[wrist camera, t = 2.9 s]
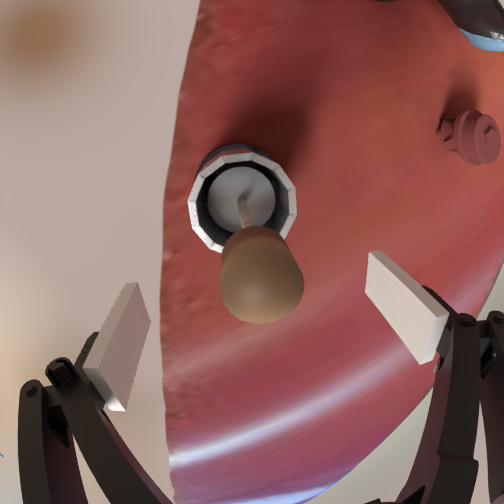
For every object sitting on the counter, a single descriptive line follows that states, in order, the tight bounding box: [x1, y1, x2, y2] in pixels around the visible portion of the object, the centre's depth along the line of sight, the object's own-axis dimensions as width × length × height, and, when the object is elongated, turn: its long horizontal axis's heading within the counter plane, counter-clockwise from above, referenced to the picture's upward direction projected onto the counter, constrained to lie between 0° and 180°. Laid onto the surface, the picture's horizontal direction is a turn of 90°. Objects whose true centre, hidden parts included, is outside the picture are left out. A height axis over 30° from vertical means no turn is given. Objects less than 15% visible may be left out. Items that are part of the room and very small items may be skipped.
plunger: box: [208, 167, 304, 324], centre depth 24 cm, size 8×8×21 cm
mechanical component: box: [436, 109, 500, 165], centre depth 34 cm, size 12×10×10 cm
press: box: [188, 144, 297, 253], centre depth 36 cm, size 16×13×12 cm
